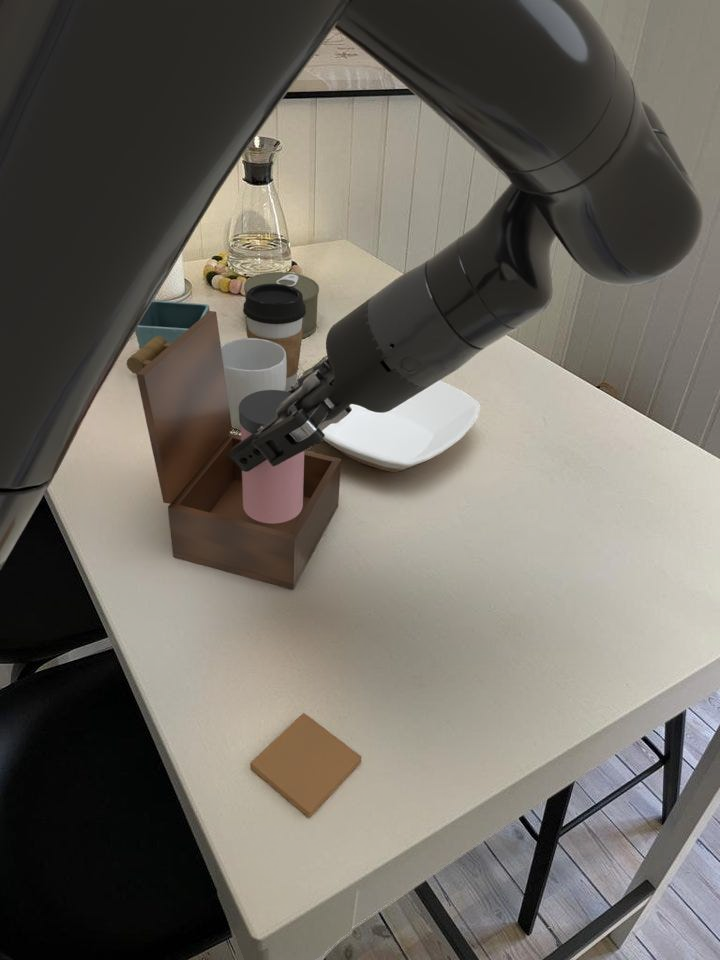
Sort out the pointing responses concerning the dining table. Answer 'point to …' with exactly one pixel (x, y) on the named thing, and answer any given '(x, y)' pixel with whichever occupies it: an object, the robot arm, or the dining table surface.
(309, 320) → the can
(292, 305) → the coffee cup
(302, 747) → the cork mat
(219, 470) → the chest
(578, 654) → the dining table surface
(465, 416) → the bowl
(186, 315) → the flower pot
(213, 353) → the lid
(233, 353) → the mug
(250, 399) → the tube
